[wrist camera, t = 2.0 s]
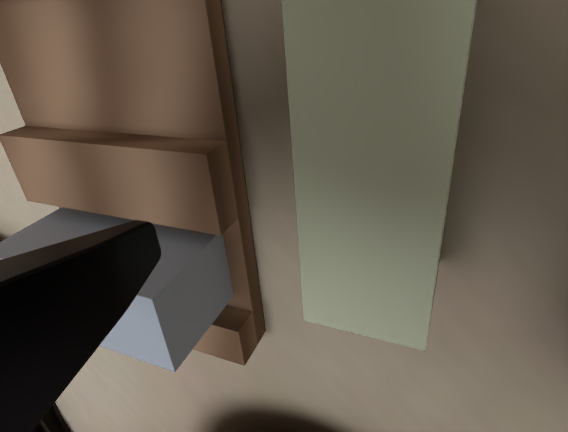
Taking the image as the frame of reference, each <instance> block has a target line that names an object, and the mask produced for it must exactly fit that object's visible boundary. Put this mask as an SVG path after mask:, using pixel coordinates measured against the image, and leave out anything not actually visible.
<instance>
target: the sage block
mask: <svg viewBox="0 0 568 432" xmlns="http://www.w3.org/2000/svg"><path fill="white" fill-rule="evenodd" d="M281 1H282V15H283V29H284V44H285V58H286V72H287V86H288V101H289V115H290V129H291V143H292V158H293V172H294V186H295V200H296V215H297V229H298V243H299V257H300V272H301V286H302V300H303V315H304V321H307V322H311V323H315V324H319V325H323V326H327V327H331V328H335V329H339V330H343V331H347V332H351V333H355V334H359V335H363V336H367V337H371V338H375V339H379V340H383V341H387V342H391V343H395V344H399V345H403V346H406V347H410V348H414V349H418V350H422V351H426V344H427V338H428V331H429V325H430V318H431V312H432V306H433V299H434V293H435V286H436V280H437V274H438V267H439V261H440V254H441V247H442V240H443V233H444V226H445V219H446V213H447V206H448V199H449V192H450V185H451V178H452V171H453V164H454V157H455V151H456V144H457V137H458V130H459V123H460V116H461V109H462V102H463V96H464V89H465V82H466V75H467V68H468V61H469V54H470V47H471V40H472V34H473V27H474V20H475V13H476V6H477V0H281Z"/></svg>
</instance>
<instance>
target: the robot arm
mask: <svg viewBox="0 0 568 432" xmlns="http://www.w3.org/2000/svg"><path fill="white" fill-rule="evenodd" d="M160 258H161V247H160V244H159V240H158V236H157V233H156V229H155V226H154V225H153V224H152V223H151V222H147V221H142V220H134V221H130V222H127V223H123V224H120V225H117V226H113V227H110V228H106V229H103V230H100V231H96V232H93V233H90V234H86V235H83V236H79V237H76V238H73V239H69V240H66V241H62V242H59V243H56V244H52V245H49V246H45V247H42V248H39V249H35V250H32V251H29V252H25V253H22V254H18V255H15V256H12V257H8V258H5V259H1V260H0V432H31V431H32V430H33V429H34V428H35V426H36V425H37V424H38V423H39V421H40V420H41V419H42V418H43V416H44V415H45V414H46V412H47V411H48V410H49V409H50V407H51V406H52V405H53V404H54V402H55V401H56V400H57V399H58V397H59V396H60V395H61V393H62V392H63V391H64V390H65V388H66V387H67V386H68V385H69V383H70V382H71V381H72V379H73V378H74V377H75V376H76V374H77V373H78V372H79V371H80V369H81V368H82V367H83V366H84V364H85V363H86V362H87V360H88V359H89V358H90V357H91V355H92V354H93V353H94V352H95V350H96V349H97V348H98V347H99V345H100V344H101V343H102V341H103V340H104V339H105V338H106V336H107V335H108V334H109V333H110V331H111V330H112V329H113V328H114V326H115V325H116V324H117V322H118V321H119V320H120V319H121V317H122V316H123V315H124V313H125V312H126V311H127V309H128V308H129V306H130V305H131V303H132V302H133V300H134V299H135V297H136V296H137V294H138V293H139V291H140V290H141V288H142V287H143V285H144V283H145V282H146V280H147V279H148V277H149V276H150V274H151V273H152V271H153V270H154V268H155V267H156V265H157V264H158V262H159V260H160Z"/></svg>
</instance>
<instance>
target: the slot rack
mask: <svg viewBox="0 0 568 432" xmlns="http://www.w3.org/2000/svg"><path fill="white" fill-rule="evenodd" d="M0 63H1V66H2V68H3V71H4V73H5V76H6V78H7V81H8V83H9V86H10V88H11V90H12V93H13V95H14V98H15V100H16V103H17V105H18V108H19V110H20V113H21V115H22V118H23V120H24V122H25V125H26V126H24V127H21V128H18V129H15V130H12V131H9V132H6V133H3V134H0V141H1V143H2V145H3V147H4V150H5V152H6V154H7V156H8V159H9V161H10V163H11V165H12V168H13V170H14V172H15V174H16V177H17V179H18V181H19V183H20V185H21V188H22V190H23V192H24V194H25V197H26V199H27V201H32V202H37V203H43V204H48V205H54V206H59V209H60V208H62V207H65V208H70V209H76V210H81V211H87V212H93V213H98V214H104V215H109V216H115V217H120V218H126V219H131V220H142V221H147V222H151V223H153V224H159V225H164V226H170V227H175V228H181V229H187V230H192V231H198V232H203V233H209V234H214V235H220V236H221V235H222V234H223V239H224V245H225V250H226V256H227V261H228V267H229V273H230V278H231V284H232V289H233V295H234V296H233V297H232V298H231V300H230V301H229V302H228V304H227V305H226V306H225V308H224V309H223V310H222V311H221V313H220V314H219V315H218V317H217V318H216V319H215V321H214V322H213V323H212V324H211V326H210V327H209V328H208V330H207V331H206V332H205V334H204V335H203V336H202V337H201V339H200V340H199V341H198V343H197V344H196V345H195V347H194V348H193V349H194V350H197V351H200V352H203V353H206V354H209V355H213V356H216V357H219V358H222V359H225V360H228V361H232V362H235V363H238V364H241V365H244V366H245V364H246V363H247V361H248V359H249V358H250V356H251V354H252V353H253V351H254V349H255V348H256V346H257V344H258V343H259V341H260V340H261V338H262V336H263V335H264V333H265V324H264V317H263V310H262V302H261V295H260V288H259V280H258V273H257V266H256V258H255V251H254V243H253V236H252V229H251V221H250V214H249V207H248V199H247V192H246V185H245V177H244V170H243V162H242V155H241V148H240V140H239V133H238V126H237V118H236V111H235V104H234V96H233V89H232V81H231V74H230V67H229V59H228V52H227V45H226V37H225V30H224V23H223V15H222V8H221V0H0Z"/></svg>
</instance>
